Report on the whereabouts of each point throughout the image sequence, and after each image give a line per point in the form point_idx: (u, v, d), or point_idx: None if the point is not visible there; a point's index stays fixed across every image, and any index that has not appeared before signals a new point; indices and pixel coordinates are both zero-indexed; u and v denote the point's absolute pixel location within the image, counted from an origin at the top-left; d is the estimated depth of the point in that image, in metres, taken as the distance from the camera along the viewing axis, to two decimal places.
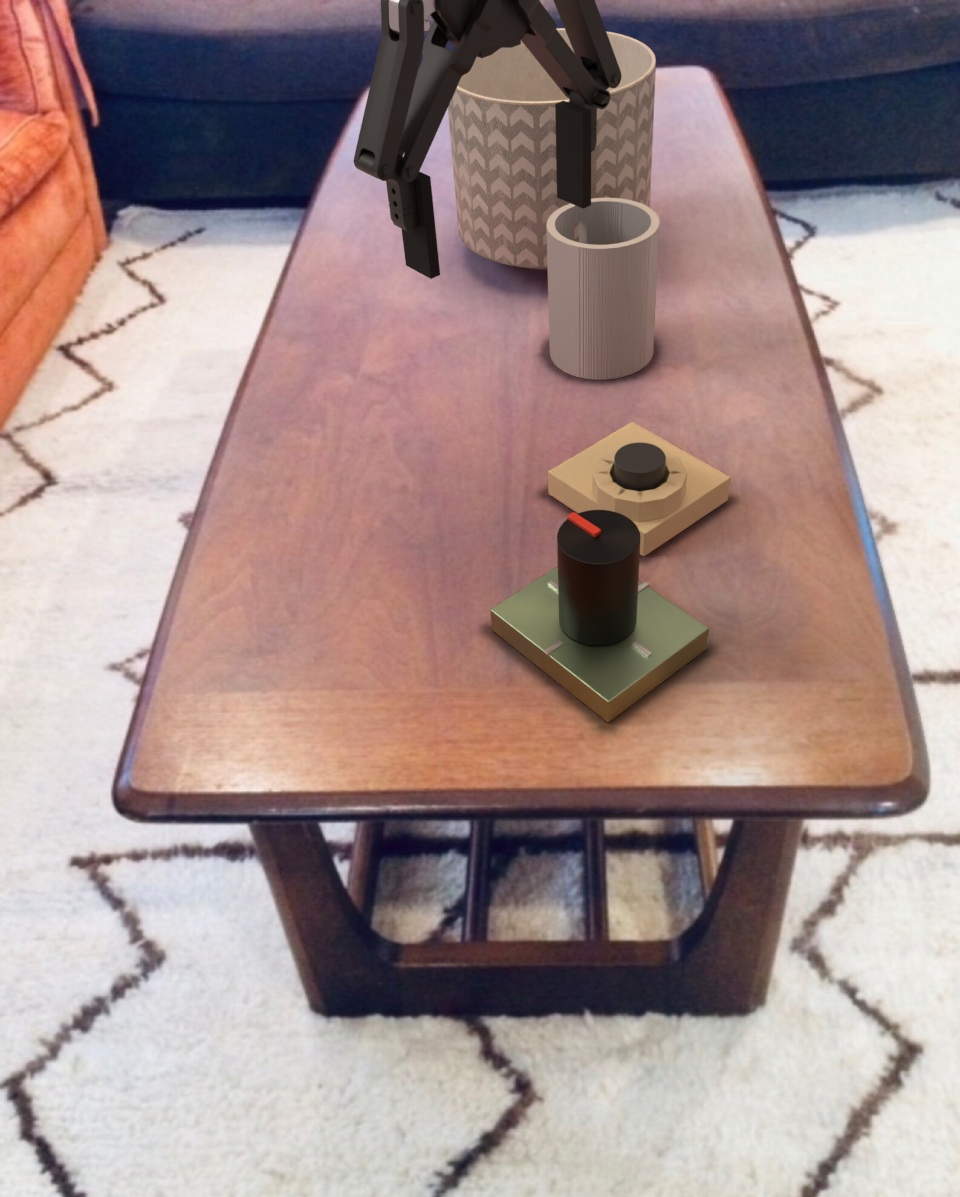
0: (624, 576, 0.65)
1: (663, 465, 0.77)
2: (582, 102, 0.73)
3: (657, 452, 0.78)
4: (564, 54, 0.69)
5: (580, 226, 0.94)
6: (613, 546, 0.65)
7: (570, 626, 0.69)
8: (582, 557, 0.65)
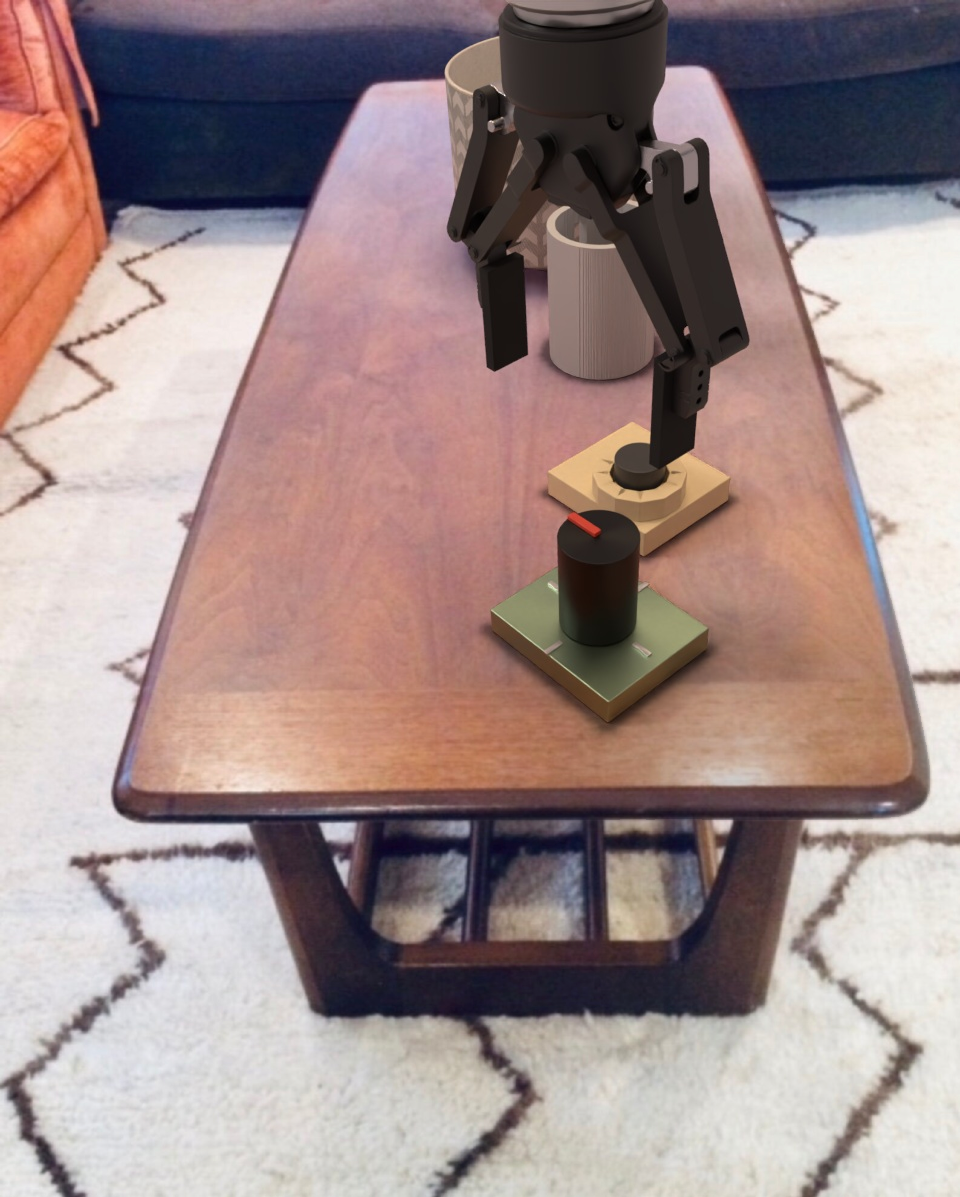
0: (624, 576, 0.65)
1: None
2: (504, 251, 0.63)
3: None
4: None
5: (580, 226, 0.94)
6: (613, 546, 0.65)
7: (570, 626, 0.69)
8: (582, 557, 0.65)
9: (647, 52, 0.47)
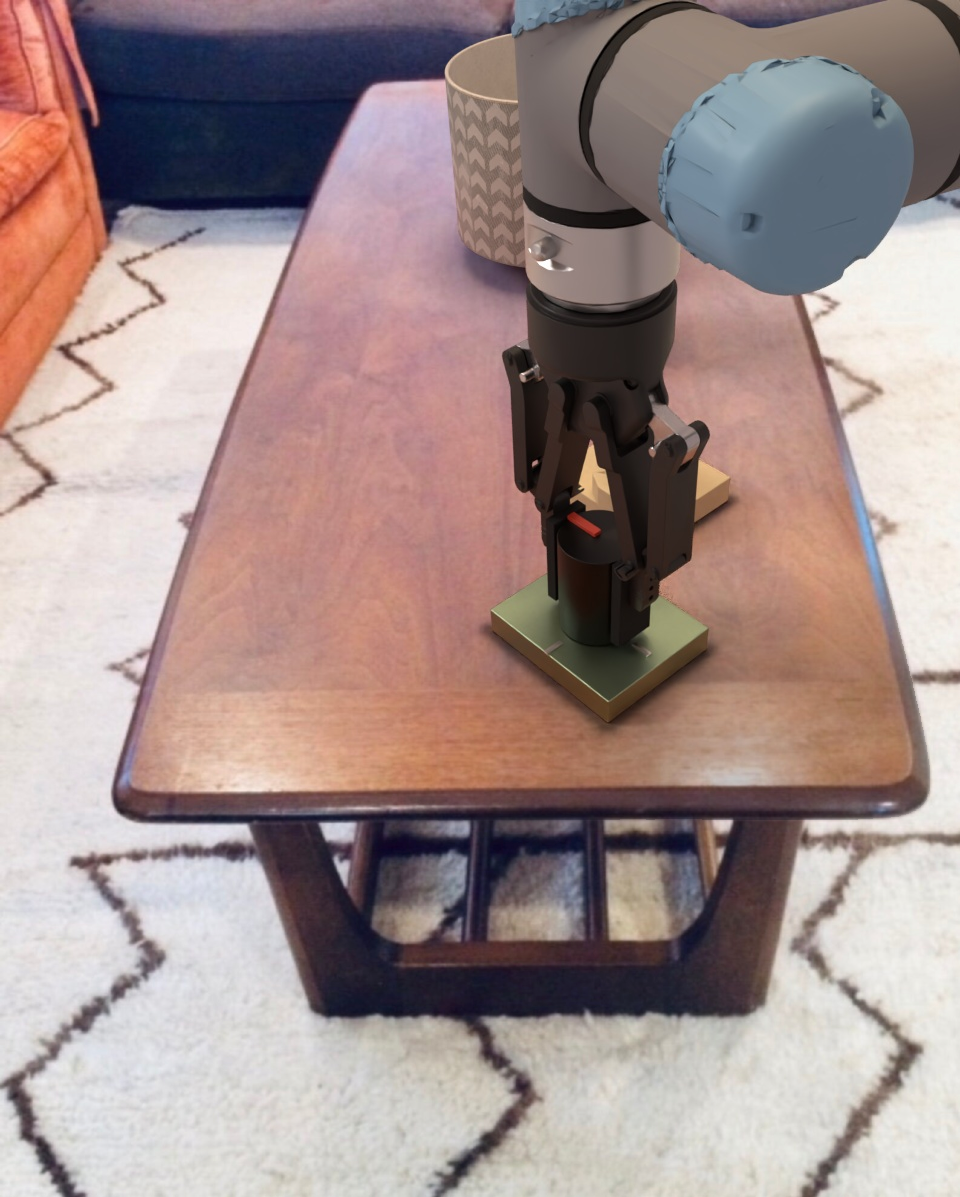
0: None
1: None
2: (568, 501, 0.68)
3: None
4: None
5: None
6: (613, 546, 0.65)
7: (570, 626, 0.69)
8: (582, 557, 0.65)
9: (659, 329, 0.53)
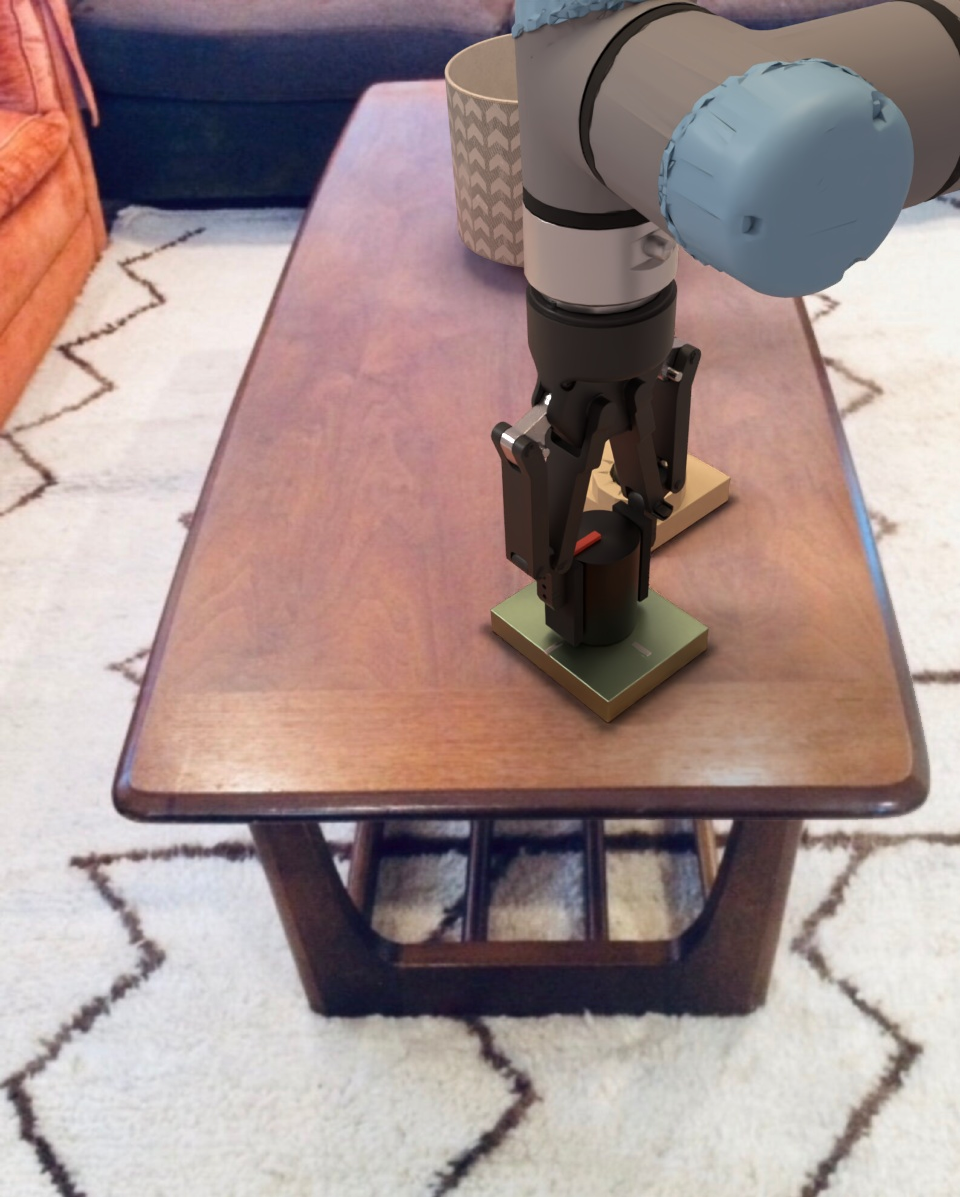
0: None
1: None
2: None
3: None
4: None
5: None
6: (614, 526, 0.67)
7: (626, 626, 0.69)
8: (630, 546, 0.65)
9: None
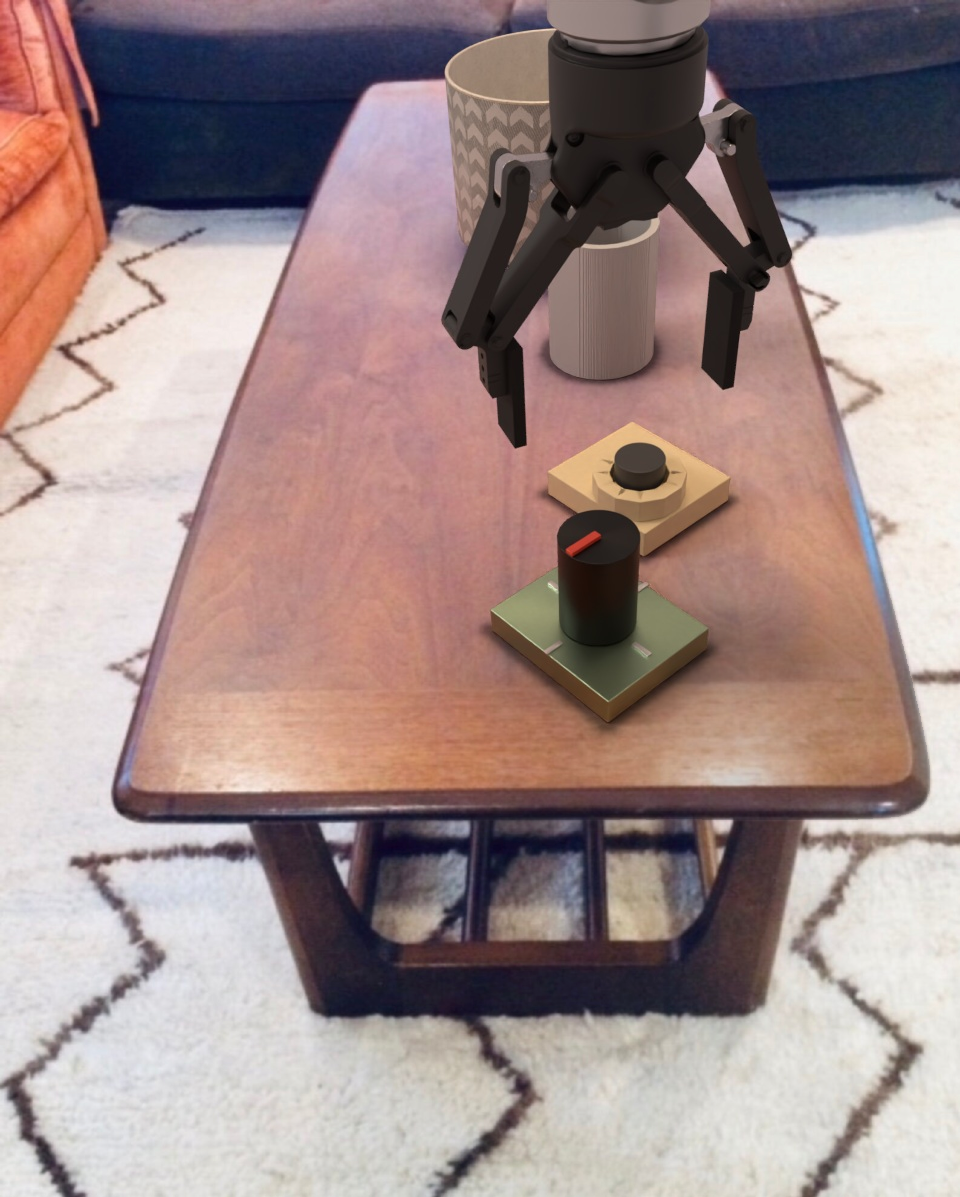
0: None
1: (663, 465, 0.77)
2: None
3: (657, 452, 0.78)
4: None
5: None
6: (614, 526, 0.67)
7: (626, 626, 0.69)
8: (630, 546, 0.65)
9: None
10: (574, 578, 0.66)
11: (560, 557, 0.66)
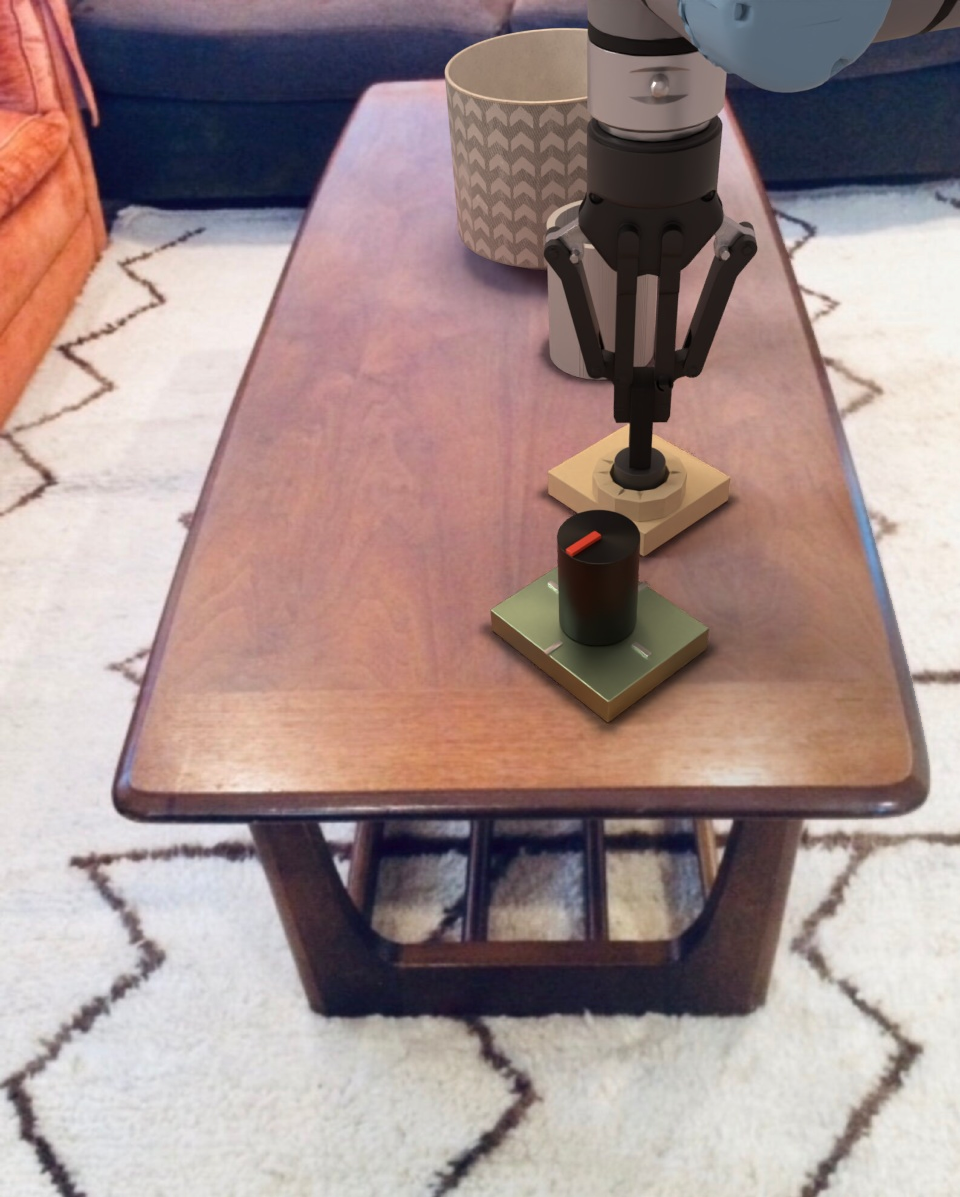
0: None
1: (663, 468, 0.77)
2: None
3: (657, 455, 0.78)
4: None
5: None
6: (614, 526, 0.67)
7: (626, 626, 0.69)
8: (630, 546, 0.65)
9: None
10: (574, 578, 0.66)
11: (560, 557, 0.66)
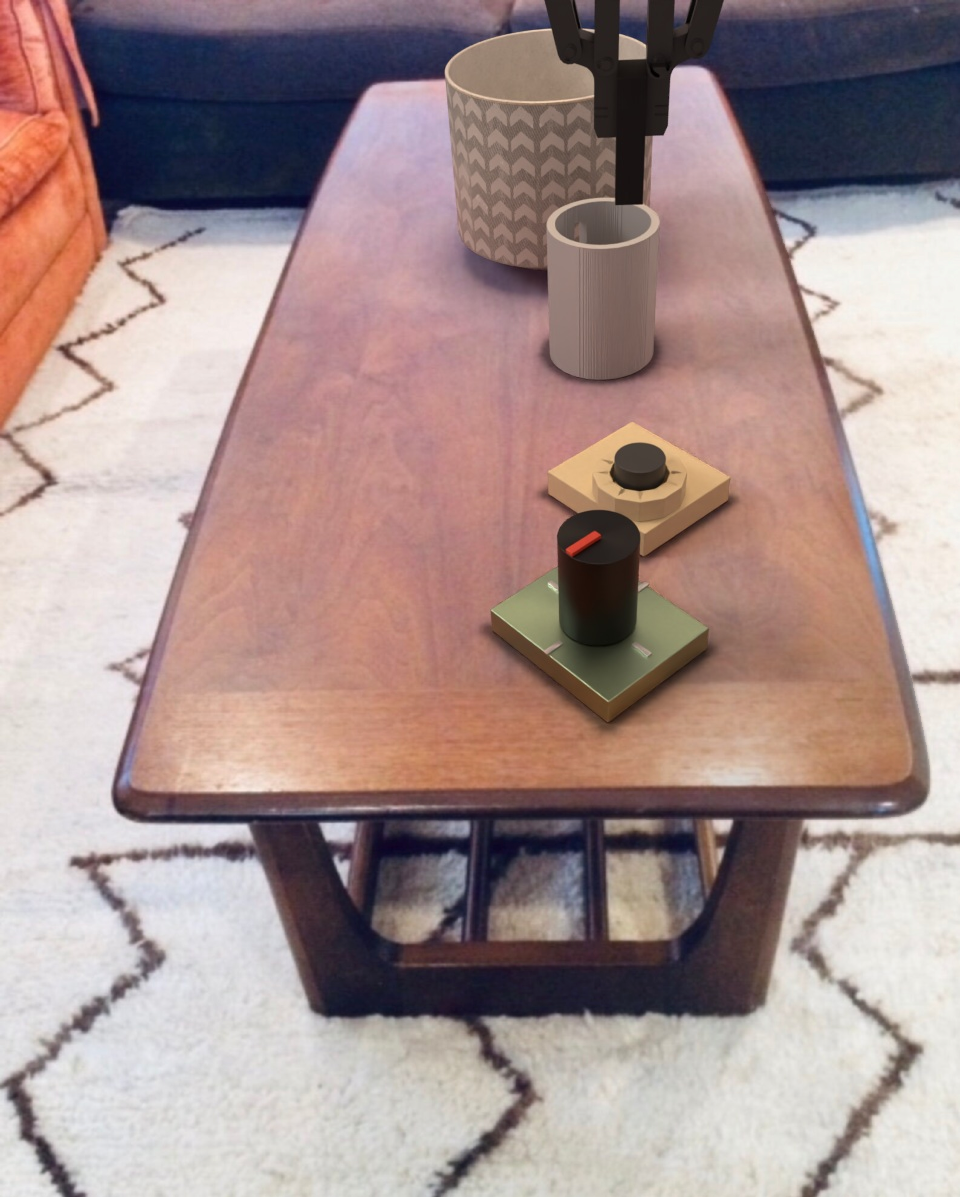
0: None
1: (663, 465, 0.77)
2: None
3: (657, 452, 0.78)
4: None
5: (580, 226, 0.94)
6: (614, 526, 0.67)
7: (626, 626, 0.69)
8: (630, 546, 0.65)
9: None
10: (574, 578, 0.66)
11: (560, 557, 0.66)
